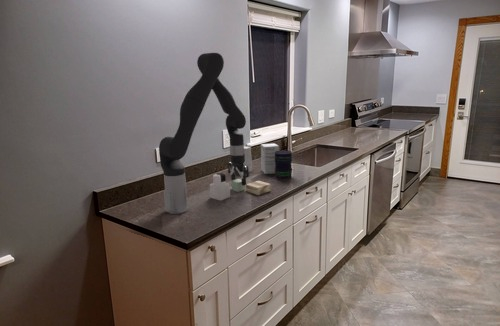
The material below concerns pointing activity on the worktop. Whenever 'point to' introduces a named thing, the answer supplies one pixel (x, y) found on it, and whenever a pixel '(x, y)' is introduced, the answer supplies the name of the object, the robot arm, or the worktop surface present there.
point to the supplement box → (268, 157)
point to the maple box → (258, 187)
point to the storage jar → (283, 164)
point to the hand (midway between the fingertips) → (238, 183)
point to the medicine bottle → (219, 187)
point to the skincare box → (248, 158)
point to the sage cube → (237, 185)
